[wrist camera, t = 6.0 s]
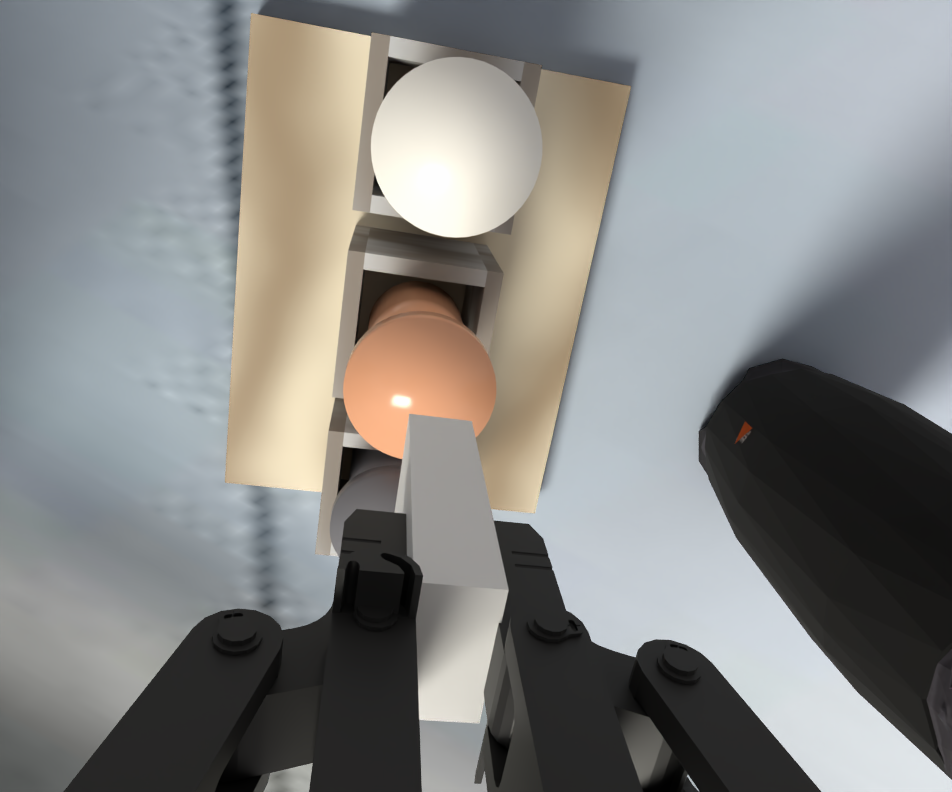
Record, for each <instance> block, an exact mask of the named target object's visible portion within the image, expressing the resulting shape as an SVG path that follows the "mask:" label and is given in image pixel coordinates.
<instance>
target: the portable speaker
mask: <svg viewBox="0 0 952 792" xmlns="http://www.w3.org/2000/svg"><path fill="white" fill-rule="evenodd" d="M699 462H700V463H701V465H702V467H703V468H704V470H705V471H706V473H707V475H708V477H709V481H710V483H711V485H712V487H713V489H714V491H715V493H716V496H717V498H718V500H719V502H720V504H721V506H722V508H723V511H724V513H725V515H726V517H727V519H728V521H729V523H730V526H731V528H732V530H733V532H734V534H735V536H736V538H737V539H738V541H739V542H740V544H741V545H742V546H743V548H744V549H745V550H746V552H747V553H748V554H749V556H750V557H751V558H752V560H753V561H754V562H755V564H756V565H757V566H758V568H759V569H760V570H761V572H762V573H763V574H764V576H765V577H766V578H767V580H768V581H769V582H770V584H771V585H772V586H773V588H774V589H775V590H776V592H777V593H778V594H779V596H780V597H781V598H782V600H783V601H784V602H785V604H786V605H787V606H788V608H789V609H790V610H791V612H792V613H793V614H794V616H795V617H796V618H797V620H798V621H799V622H800V624H801V625H802V626H803V628H804V629H805V630H806V632H807V633H808V635H809V636H810V637H811V638H812V640H813V641H814V642H815V643H816V644H817V645H818V647H819V648H820V649H821V650H822V651H823V652H824V654H825V655H826V656H827V657H828V658H829V659H830V661H831V662H832V663H833V664H834V665H835V666H836V668H837V669H838V670H839V671H840V672H841V673H842V675H843V676H844V677H845V678H846V679H847V680H848V682H849V683H850V684H851V685H852V686H853V687H854V689H855V690H856V691H857V692H858V693H859V694H860V695H861V696H862V697H863V698H864V699H866V700H867V701H868V702H869V703H870V704H871V705H872V706H873V707H874V708H875V709H876V710H877V711H878V712H880V713H881V714H882V715H883V716H884V717H885V718H886V719H887V720H888V721H889V722H890V723H891V724H892V725H894V726H895V727H896V728H897V729H898V730H899V731H900V732H901V733H902V734H903V735H904V736H905V737H906V738H908V739H909V740H910V741H911V742H912V743H913V744H914V745H915V746H916V747H917V748H918V749H919V750H920V751H922V752H923V753H924V754H925V755H926V756H927V757H928V758H929V759H930V760H931V761H932V762H933V763H934V764H935V765H937V766H938V767H939V768H940V769H941V770H942V771H943V772H944V773H945V774H946V775H947V776H948V777H949V778H951V779H952V434H951V433H950V432H948V431H946V430H945V429H943V428H941V427H940V426H938V425H937V424H935V423H933V422H932V421H930V420H928V419H927V418H925V417H924V416H922V415H920V414H919V413H917V412H915V411H914V410H912V409H911V408H909V407H907V406H906V405H904V404H901V403H899V402H897V401H894V400H892V399H890V398H887V397H885V396H882V395H880V394H878V393H875V392H873V391H870V390H868V389H866V388H863V387H861V386H859V385H856V384H854V383H851V382H849V381H847V380H844V379H842V378H840V377H837V376H835V375H832V374H827V373H824V372H822V371H820V370H818V369H816V368H814V367H812V366H808V365H804V364H800V363H797V362H793V361H789V360H785V359H780V360H777V361H773V362H770V363H767V364H763V365H760V366H756V367H753V368H749V370H748V372H747V374H746V376H745V378H744V380H743V381H742V382H741V383H740V384H739V385H738V386H737V387H736V388H735V389H734V390H733V391H732V392H731V393H730V394H729V395H728V396H727V397H726V398H724V399H723V400H722V402H721V403H720V405H719V406H718V408H717V410H716V411H715V413H714V414H713V416H712V418H711V419H710V421H709V423H708V424H707V426H706V427H705V428H703V429H702V430H700V431H699Z"/></svg>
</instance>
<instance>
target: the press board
mask: <svg viewBox="0 0 952 792" xmlns="http://www.w3.org/2000/svg"><path fill="white" fill-rule="evenodd" d="M446 57H466V58H473V59H476V60H480V61H484V62H486V63H488V64H491V65H493V66H495V67H497V68H498V69H500V70H502V71H503V72H505V73H506V74H507V75H508V76H510V77H511V78H512V79H513V80H514V81H515V82H516V83H517V84H518V85H519V86H520V87H521V88H522V90H523V91H524V92H525V94H526V95H527V97H528V98H529V100H530V102H531V104H532V105H533V107H534V110H535V112H536V115H537V117H538V120H539V125H540V129H541V135H542V160H541V167H540V170H539V174H538V178H537V180H536V183H535V185H534V188H533V190H532V191H531V193H530V195H529V197H528V198H527V200H526V201H525V203H524V204H523V205H522V207H521V208H520V209H519V210H518V211H517V212H516V213H515V214H514V215H513V216H512V217H511V218H509V219H508V220H507V221H506V222H504V223H503V224H501V225H500V226H498V227H496V228H494V229H492V230H490V231H488V232H485V233H482V234H479V235H475V236H469V237H457V238H454V237H444V236H439V235H435V234H432V233H429V232H426V231H424V230H422V229H420V228H418V227H416V226H414V225H413V224H411V223H410V222H408V221H407V220H405V219H404V218H403V217H402V216H401V215H400V214H399V213H398V212H396V210H395V209H394V208H393V207H392V206H391V204H390V203H389V202H388V200H387V199H386V197H385V196H384V194H383V192H382V190H381V188H380V186H379V184H378V182H377V179H376V176H375V173H374V169H373V164H372V157H371V136H372V130H373V124H374V121H375V118H376V115H377V112H378V110H379V108H380V106H381V103H382V101H383V100H384V98H385V97H386V95H387V94H388V92H389V91H390V90H391V88H392V87H393V86H394V85H395V84H396V82H398V81H399V80H400V79H401V78H402V77H403V76H404V75H405V74H407V73H408V72H410V71H411V70H413V69H414V68H416V67H418V66H420V65H422V64H424V63H426V62H430V61H433V60H436V59H441V58H446ZM630 90H631V86H627V85H622V84H617V83H611V82H606V81H601V80H596V79H591V78H585V77H580V76H575V75H570V74H565V73H559V72H554V71H549V70H544V69H542V65H538V64H533V63H528V62H523V61H518V60H513V59H507V58H502V57H497V56H492V55H487V54H482V53H476V52H471V51H466V50H461V49H456V48H451V47H445V46H440V45H435V44H430V43H425V42H419V41H414V40H409V39H404V38H399V37H394V36H388V35H383V34H378V33H373V32H372V33H371V36H367V35H362V34H357V33H352V32H346V31H341V30H336V29H331V28H326V27H321V26H315V25H310V24H305V23H300V22H295V21H289V20H284V19H279V18H274V17H269V16H263V15H258V14H253V13H251V24H250V42H249V60H248V78H247V96H246V114H245V132H244V150H243V168H242V186H241V204H240V221H239V239H238V257H237V275H236V293H235V311H234V329H233V347H232V365H231V383H230V401H229V419H228V437H227V455H226V472H225V483H235V484H245V485H255V486H265V487H275V488H285V489H295V490H305V491H316V492H322V495H321V504H320V513H319V523H318V532H317V541H316V550H315V554H318V555H330V556H338V555H337V553H336V551H335V550H334V547H333V545H332V542H331V538H330V520H331V513H332V508H333V504H334V502H335V499H336V497H337V495H338V493H339V492H340V491H341V489H342V488H343V487H344V486H345V485H346V483H347V482H348V481H349V476H350V468H351V460H352V452H353V448H361V449H370V450H378V449H376V448H374V447H373V446H372V445H370V444H369V443H368V442H367V441H366V440H365V439H364V438H363V437H362V436H361V435H360V434H359V433H358V432H357V430H356V429H355V428H354V426H353V424H352V423H351V421H350V419H349V416H348V414H347V411H346V408H345V404H344V397H343V383H344V377H345V372H346V366H347V363H348V360H349V357H350V354H351V352H352V350H353V348H354V347H355V345H356V344H357V342H358V341H359V339H360V338H361V337H362V336H363V335H364V334H365V333H366V332H367V329H368V321H369V316H370V312H371V309H372V307H373V305H374V304H375V302H376V301H377V299H378V298H379V297H380V296H381V295H382V294H383V293H384V292H385V291H386V290H388V289H389V288H391V287H393V286H395V285H397V284H400V283H403V282H409V281H421V282H427V283H430V284H433V285H435V286H437V287H439V288H441V289H442V290H444V291H445V292H446V293H447V294H449V295H450V297H451V298H452V299H453V300H454V302H455V303H456V305H457V307H458V309H459V311H460V315H461V318H462V321H463V325H465V326H466V327H468V328H469V329H470V330H471V331H472V332H473V333H474V334H475V335H476V336H477V337H478V338H479V339H480V341H481V342H482V344H483V345H484V347H485V349H486V351H487V353H488V355H489V358H490V360H491V363H492V366H493V370H494V373H495V378H496V400H495V405H494V409H493V412H492V414H491V416H490V419H489V421H488V422H487V424H486V426H485V427H484V429H483V430H482V431H481V433H480V434H479V435H478V436H477V437H476V442H477V447H478V451H479V456H480V461H481V465H482V470H483V474H484V479H485V484H486V488H487V493H488V497H489V502H490V507H491V509H496V510H506V511H517V512H527V513H535V510H536V506H537V502H538V497H539V493H540V488H541V484H542V479H543V475H544V471H545V466H546V462H547V457H548V453H549V448H550V444H551V440H552V435H553V431H554V426H555V422H556V417H557V413H558V409H559V404H560V400H561V395H562V391H563V386H564V382H565V378H566V373H567V369H568V364H569V360H570V355H571V351H572V347H573V342H574V338H575V333H576V329H577V324H578V320H579V316H580V311H581V307H582V302H583V298H584V293H585V289H586V285H587V280H588V276H589V271H590V267H591V262H592V258H593V254H594V249H595V245H596V240H597V236H598V231H599V227H600V223H601V218H602V214H603V209H604V205H605V200H606V196H607V191H608V187H609V183H610V178H611V174H612V169H613V165H614V160H615V156H616V152H617V147H618V143H619V138H620V134H621V129H622V125H623V121H624V116H625V112H626V107H627V103H628V98H629V94H630Z"/></svg>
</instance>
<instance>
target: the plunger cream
mask: <svg viewBox="0 0 952 792" xmlns="http://www.w3.org/2000/svg"><path fill="white" fill-rule="evenodd" d="M371 157H372V164H373V169H374V173H375V176H376V179H377V182H378V184H379V186H380V188H381V190H382V192H383V194H384V196H385V197H386V199H387V200H388V202H389V203H390V204H391V206H392V207H393V208H394V209H395V210H396V212H398V213H399V214H400V215H401V216H402V217H403V218H404V219H405V220H407V221H408V222H410V223H411V224H413V225H414V226H416V227H418V228H420V229H422V230H424V231H426V232H429V233H432V234H435V235H439V236H444V237H454V238H457V237H469V236H475V235H479V234H482V233H485V232H488V231H490V230H492V229H494V228H496V227H498V226H500V225H501V224H503V223H504V222H506V221H507V220H508V219H509V218H511V217H512V216H513V215H514V214H515V213H516V212H517V211H518V210H519V209H520V208H521V207H522V205H523V204H524V203H525V201H526V200H527V198H528V197H529V195H530V193H531V191H532V190H533V188H534V185H535V183H536V180H537V178H538V174H539V170H540V167H541V160H542V135H541V129H540V125H539V120H538V117H537V115H536V112H535V110H534V107H533V105H532V104H531V102H530V100H529V98H528V97H527V95H526V94H525V92H524V91H523V90H522V88H521V87H520V86H519V85H518V84H517V83H516V82H515V81H514V80H513V79H512V78H511V77H510V76H508V75H507V74H506V73H505V72H503V71H502V70H500V69H498V68H497V67H495V66H493V65H491V64H488V63H486V62H484V61H480V60H476V59H473V58H466V57H446V58H441V59H436V60H433V61H430V62H426V63H424V64H422V65H420V66H418V67H416V68H414V69H413V70H411V71H410V72H408V73H407V74H405V75H404V76H403V77H402V78H401V79H400V80H399V81H398V82H396V84H395V85H394V86H393V87H392V88H391V90H390V91H389V92H388V94H387V95H386V97H385V98H384V100H383V101H382V103H381V106H380V108H379V110H378V112H377V115H376V118H375V121H374V124H373V130H372V136H371Z"/></svg>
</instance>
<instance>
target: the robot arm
mask: <svg viewBox="0 0 952 792" xmlns="http://www.w3.org/2000/svg"><path fill="white" fill-rule="evenodd" d="M484 699H485V706H486V713H487V725H486V729H485V734H484V738H483V743H482V747H481V751H480V756H479V760H478V765H477V769H476V775H475V783H477V784H481V782H482V778H483V773H484V771H485V775H486V783H487V791H488V792H821V791H820V790H819V788H818V787H817V786H816V785H815V784H814V783H813V781H812V780H811V779H810V778H809V777H808V775H807V774H806V773H805V772H804V771H803V770H802V768H801V767H800V766H799V765H798V764H797V763H796V761H795V760H794V759H793V758H792V757H791V755H790V754H789V753H788V752H787V751H786V750H785V748H784V747H783V746H782V745H781V744H780V743H779V741H778V740H777V739H776V738H775V737H774V735H773V734H772V733H771V732H770V731H769V730H768V728H767V727H766V726H765V725H764V724H763V722H762V721H761V720H760V719H759V718H758V717H757V715H756V714H755V713H754V712H753V711H752V710H751V708H750V707H749V706H748V705H747V704H746V702H745V701H744V700H743V699H742V698H741V697H740V695H739V694H738V693H737V692H736V691H735V690H734V688H733V687H732V686H731V685H730V684H729V682H728V681H727V680H726V679H725V678H724V677H723V675H722V674H721V673H720V672H719V671H718V669H717V668H716V667H715V666H714V665H713V664H712V663H711V662H710V661H709V660H708V659H707V658H706V657H705V656H704V655H702V654H701V653H700V652H698V651H696V650H694V649H693V648H691V647H689V646H687V645H685V644H682V643H678V642H675V641H672V640H657V639H656V640H653V641H649V642H646V643H644V644H643V645H642V646H641V647H640V648H639V650H638V652H637V655H636V658H635V657H632V656H628V655H625V654H622V653H618V652H615V651H612V650H609V649H606V648H604V647H601V646H599V645H597V644H595V643H593V642H592V641H591V639H590V636H589V633H588V631H587V629H586V628H585V626H584V624H583V623H582V622H581V621H580V620H579V619H578V618H577V617H575V616H574V615H573V614H572V613H570V612H568V611H566V609H565V606H564V603H563V599H562V596H561V593H560V590H559V587H558V584H557V581H556V578H555V574H554V571H553V570H552V565H551V562H550V559H549V558H548V553H547V549H546V546H545V543H544V540H543V538H542V537H541V536H540V535H539V534H538V533H537V532H536V531H535V530H534V529H533V528H532V527H531V526H530V525H529V524H523V523H513V522H503V521H494V520H493V516H492V511H491V507H490V502H489V497H488V493H487V488H486V484H485V479H484V474H483V470H482V465H481V461H480V456H479V451H478V447H477V442H476V438H475V433H474V428H473V424H472V421H467V420H458V419H450V418H442V417H433V416H425V415H416V414H409V418H408V425H407V432H406V438H405V445H404V452H403V459H402V465H401V472H400V479H399V485H398V492H397V499H396V505H395V512H384V511H374V510H364V509H356V510H355V511H354V512H353V513H352V514H351V515H350V516H349V517H348V518H347V519H346V520H345V521H344V528H343V536H342V543H341V551H340V559H339V566H338V568H337V577H336V585H335V593H334V601H333V604H332V607H331V608H330V610H329V611H328V612H327V614H326V615H324V616H323V617H321V618H320V619H319V620H317V621H315V622H313V623H311V624H308V625H306V626H302V627H297V628H293V629H286V630H281V627H280V625H279V624H278V623H277V622H276V621H275V620H274V619H273V618H271V617H270V616H268V615H266V614H263V613H261V612H258V611H256V610H246V609H233V610H226V611H220V612H218V613H215V614H213V615H210V616H208V617H206V618H204V619H203V620H202V621H201V622H199V623H198V624H197V625H196V626H195V627H194V628H193V629H192V630H191V631H190V633H189V634H188V635H187V636H186V638H185V639H184V640H183V642H182V643H181V644H180V645H179V647H178V648H177V649H176V650H175V652H174V653H173V654H172V655H171V657H170V658H169V659H168V660H167V662H166V663H165V664H164V666H163V667H162V668H161V669H160V671H159V672H158V673H157V674H156V676H155V677H154V678H153V679H152V681H151V682H150V683H149V684H148V686H147V687H146V688H145V690H144V691H143V692H142V693H141V695H140V696H139V697H138V698H137V700H136V701H135V702H134V703H133V705H132V706H131V707H130V708H129V710H128V711H127V712H126V714H125V715H124V716H123V717H122V719H121V720H120V721H119V722H118V724H117V725H116V726H115V727H114V729H113V730H112V731H111V732H110V734H109V735H108V736H107V738H106V739H105V740H104V741H103V743H102V744H101V745H100V746H99V748H98V749H97V750H96V751H95V753H94V754H93V755H92V756H91V758H90V759H89V760H88V762H87V763H86V764H85V765H84V767H83V768H82V769H81V770H80V772H79V773H78V774H77V775H76V777H75V778H74V779H73V780H72V782H71V783H70V784H69V786H68V787H67V788H66V789H65V791H64V792H263V791H264V789H265V787H266V785H267V783H268V779H269V775H270V773H272V772H276V771H280V770H284V769H289V768H293V767H297V766H301V765H305V764H310V763H313V766H312V774H311V782H310V790H309V792H422V788H421V758H420V728H419V720H431V721H448V722H465V723H479V722H480V718H481V713H482V709H483V704H484ZM687 775H689V776H690V778H691V779H692V781H693V782H694V784H695V785H696V786H697V788H698V789H699V791H698V790H697V789H696V788H695V787H694V786H693V785H692V783H691V782H690V780H689V779H688V777H687Z"/></svg>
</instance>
